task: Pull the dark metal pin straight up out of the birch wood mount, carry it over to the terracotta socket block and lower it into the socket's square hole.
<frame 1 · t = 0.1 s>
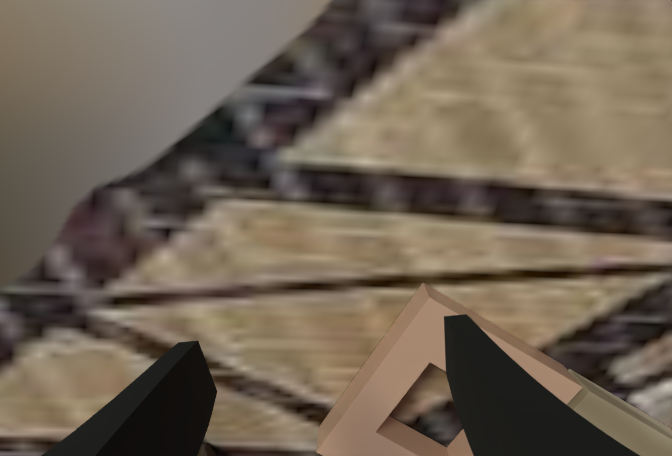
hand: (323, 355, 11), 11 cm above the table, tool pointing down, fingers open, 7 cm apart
socket block: (435, 397, 23), on the table
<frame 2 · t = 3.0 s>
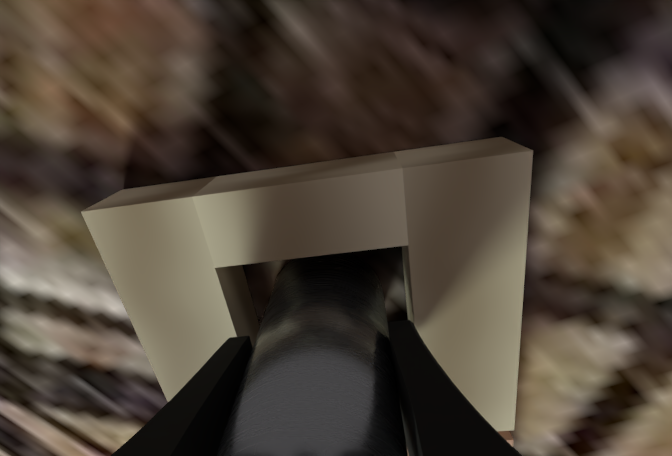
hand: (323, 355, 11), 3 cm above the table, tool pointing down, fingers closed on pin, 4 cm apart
pin mount: (328, 298, 13), on the table
pin: (321, 370, 10), in the pin mount, touching gripper
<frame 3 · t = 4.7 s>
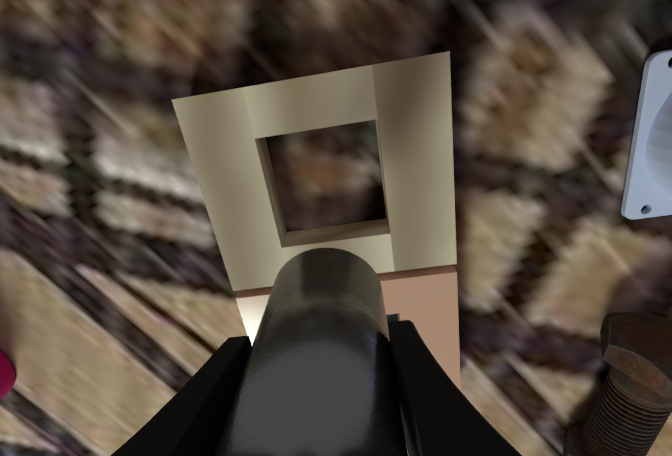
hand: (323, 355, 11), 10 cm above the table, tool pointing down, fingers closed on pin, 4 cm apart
socket block: (355, 334, 23), on the table
pin mount: (327, 177, 19), on the table
pin: (321, 368, 10), point 11 cm above the table, touching gripper
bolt: (592, 397, 25), on the table
when the fingers open (4 cm above the table, at t = 6.7 s): pin drops 1 cm, resting in socket block.
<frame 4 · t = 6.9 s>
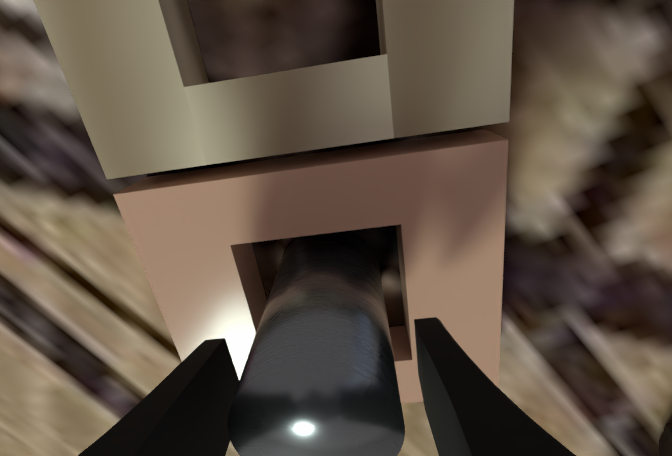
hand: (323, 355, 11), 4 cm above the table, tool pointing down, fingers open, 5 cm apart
socket block: (330, 276, 15), on the table
pin: (324, 330, 11), in the socket block
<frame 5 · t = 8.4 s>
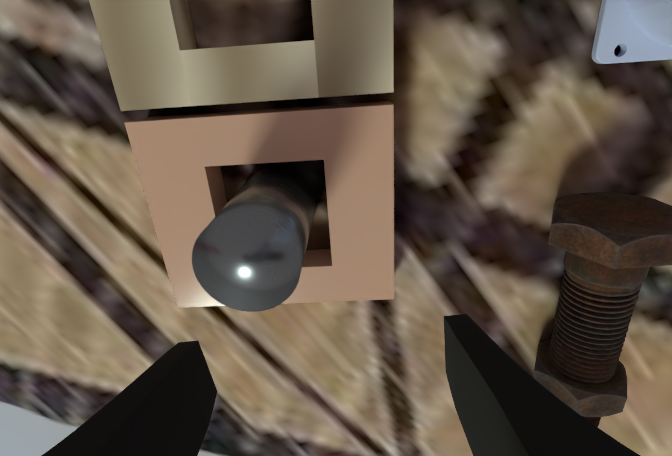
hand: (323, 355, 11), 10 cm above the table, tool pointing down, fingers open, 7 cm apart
socket block: (278, 205, 20), on the table
pin: (265, 228, 17), in the socket block
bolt: (560, 307, 22), on the table
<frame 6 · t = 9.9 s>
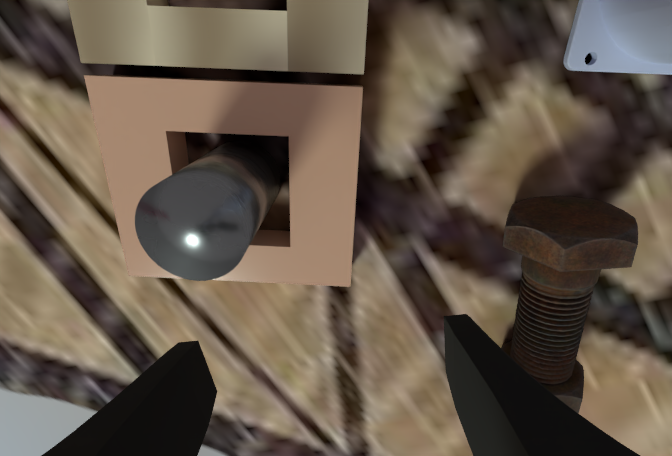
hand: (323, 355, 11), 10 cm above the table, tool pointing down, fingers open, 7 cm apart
socket block: (242, 181, 19), on the table
pin: (222, 200, 16), in the socket block
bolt: (523, 309, 23), on the table
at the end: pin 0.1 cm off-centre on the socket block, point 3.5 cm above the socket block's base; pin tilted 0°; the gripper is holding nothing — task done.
